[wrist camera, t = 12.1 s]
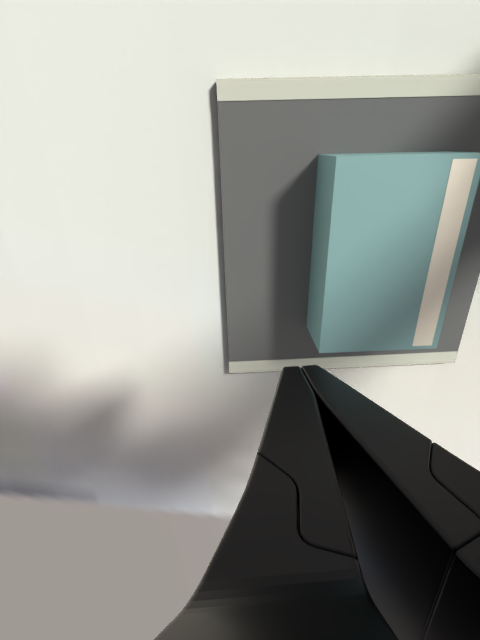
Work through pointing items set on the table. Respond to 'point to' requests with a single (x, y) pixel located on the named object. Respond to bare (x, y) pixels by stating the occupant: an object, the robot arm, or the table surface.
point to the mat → (299, 199)
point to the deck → (387, 247)
